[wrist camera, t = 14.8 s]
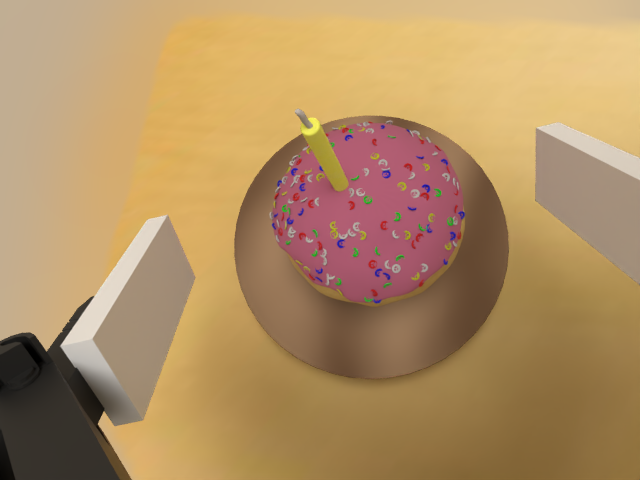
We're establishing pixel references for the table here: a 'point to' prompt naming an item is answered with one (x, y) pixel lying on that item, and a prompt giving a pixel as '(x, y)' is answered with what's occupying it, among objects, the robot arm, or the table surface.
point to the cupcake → (369, 212)
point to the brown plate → (366, 321)
